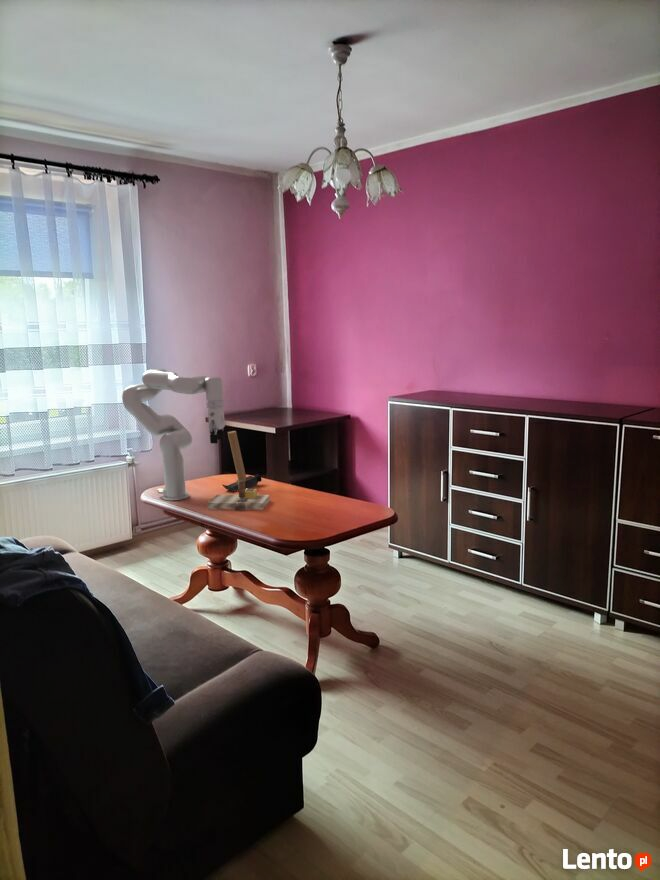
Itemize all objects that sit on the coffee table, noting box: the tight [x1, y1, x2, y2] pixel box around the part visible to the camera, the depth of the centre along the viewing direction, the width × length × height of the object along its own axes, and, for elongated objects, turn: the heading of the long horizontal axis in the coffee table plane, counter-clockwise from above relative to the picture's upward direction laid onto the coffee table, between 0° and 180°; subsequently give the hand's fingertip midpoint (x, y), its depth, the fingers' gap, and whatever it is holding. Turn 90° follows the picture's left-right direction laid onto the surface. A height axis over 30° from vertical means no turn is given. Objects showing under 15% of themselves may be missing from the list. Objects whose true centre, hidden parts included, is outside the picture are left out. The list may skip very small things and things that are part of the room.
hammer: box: [221, 430, 262, 492], centre depth 318 cm, size 20×5×30 cm, turn 131°
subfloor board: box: [206, 494, 271, 512], centre depth 291 cm, size 25×17×3 cm
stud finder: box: [245, 488, 258, 498], centre depth 293 cm, size 6×5×3 cm
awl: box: [238, 480, 246, 502], centre depth 287 cm, size 3×3×12 cm
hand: (217, 441), depth 294 cm, fingers open, 9 cm apart
